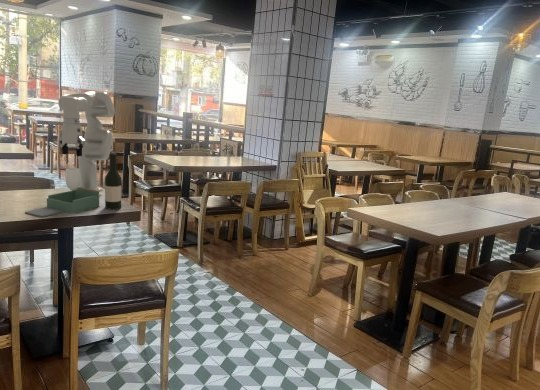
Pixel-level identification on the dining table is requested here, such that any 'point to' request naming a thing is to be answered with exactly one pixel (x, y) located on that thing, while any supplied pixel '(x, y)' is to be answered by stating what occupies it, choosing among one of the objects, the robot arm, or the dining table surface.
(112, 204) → the wine bottle
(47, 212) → the rubber mat
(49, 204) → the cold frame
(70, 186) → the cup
